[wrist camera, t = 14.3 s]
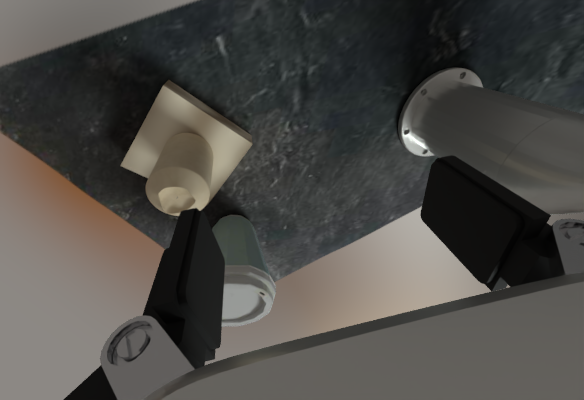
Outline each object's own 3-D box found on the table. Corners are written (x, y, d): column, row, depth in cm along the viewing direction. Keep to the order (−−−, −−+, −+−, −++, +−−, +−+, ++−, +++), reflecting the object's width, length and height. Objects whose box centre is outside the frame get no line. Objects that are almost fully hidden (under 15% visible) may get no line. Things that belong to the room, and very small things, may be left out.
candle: (193, 182, 32) (182, 234, 24) (154, 154, 29) (127, 203, 21) (223, 154, 31) (221, 200, 23) (185, 121, 28) (168, 162, 20)
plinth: (251, 135, 34) (252, 143, 31) (208, 193, 37) (207, 205, 35) (168, 79, 28) (163, 85, 26) (128, 154, 32) (120, 165, 29)
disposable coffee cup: (228, 259, 46) (228, 343, 34) (183, 226, 40) (163, 314, 28) (276, 229, 44) (294, 307, 32) (236, 189, 38) (240, 267, 26)
